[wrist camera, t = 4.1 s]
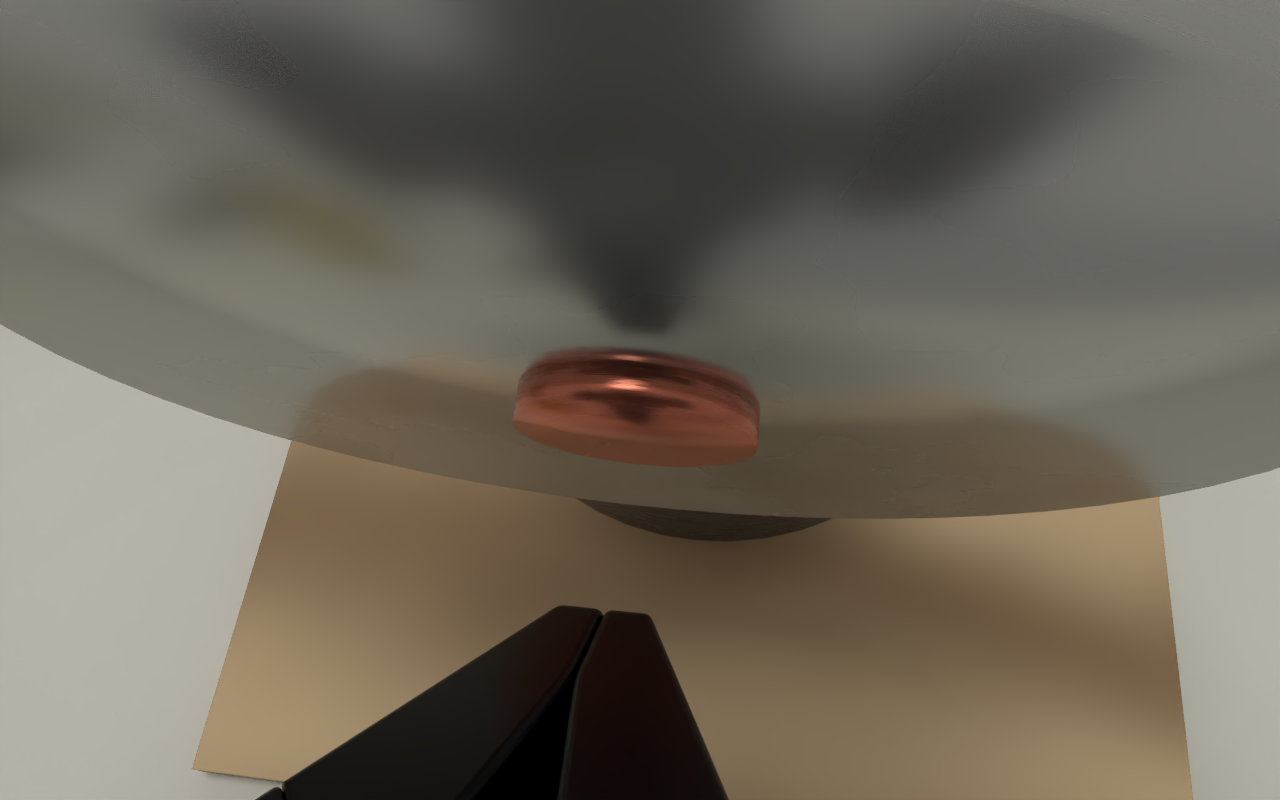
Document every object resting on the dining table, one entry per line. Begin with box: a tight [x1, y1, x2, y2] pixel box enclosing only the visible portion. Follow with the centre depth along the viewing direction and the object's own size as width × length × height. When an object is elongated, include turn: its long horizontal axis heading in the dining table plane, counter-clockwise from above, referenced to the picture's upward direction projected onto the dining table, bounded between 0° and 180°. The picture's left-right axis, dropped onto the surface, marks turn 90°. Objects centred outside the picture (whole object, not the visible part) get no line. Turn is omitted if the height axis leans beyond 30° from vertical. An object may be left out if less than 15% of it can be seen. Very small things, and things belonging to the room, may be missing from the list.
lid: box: [0, 0, 1280, 519], centre depth 10 cm, size 13×13×2 cm
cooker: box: [576, 498, 833, 541], centre depth 22 cm, size 12×17×6 cm
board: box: [192, 441, 1193, 800], centre depth 25 cm, size 24×20×1 cm
